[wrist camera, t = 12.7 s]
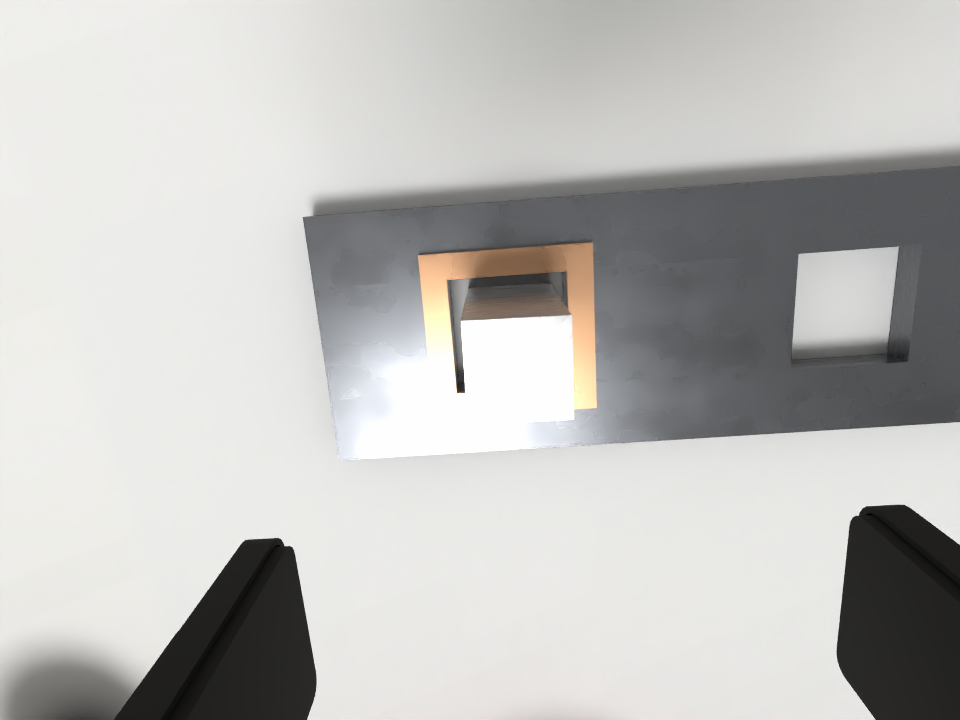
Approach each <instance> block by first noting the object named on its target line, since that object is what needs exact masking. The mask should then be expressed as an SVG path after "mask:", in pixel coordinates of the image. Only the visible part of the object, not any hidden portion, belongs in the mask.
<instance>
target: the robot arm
mask: <svg viewBox="0 0 960 720" xmlns="http://www.w3.org/2000/svg"><path fill="white" fill-rule="evenodd" d="M837 660H838V663H839V667H840V669H841V671H842V673H843V675H844V677H845V678H846V680H847V681H848V682H849V684H850V685H851V687H852V688H853V689H854V691H855V692H856V693H857V695H858V696H859V697H860V699H861V700H862V702H863V703H864V704H865V706H866V707H867V708H868V710H869V711H870V712H871V714H872V715H873V717H874V718H875V719H876V720H960V545H959V544H958V543H956V542H955V541H954V540H952V539H951V538H950V537H948V536H947V535H946V534H944V533H943V532H942V531H940V530H939V529H938V528H936V527H935V526H934V525H932V524H931V523H930V522H928V521H927V520H926V519H924V518H923V517H922V516H920V515H919V514H917V513H916V512H915V511H913V510H912V509H911V508H909V507H907V506H905V505H885V506H866V507H865V508H863V509H862V510H861V512H860V513H859V516H855V517H853V518H852V520H851V522H850V527H849V537H848V546H847V556H846V565H845V575H844V584H843V594H842V604H841V613H840V623H839V632H838V642H837ZM315 692H316V670H315V665H314V659H313V654H312V648H311V642H310V637H309V631H308V625H307V620H306V614H305V608H304V603H303V597H302V592H301V586H300V580H299V575H298V569H297V563H296V558H295V553H294V550H293V548H292V547H291V546H284V544H283V542H282V540H281V539H279V538H271V539H253V540H245V541H244V542H243V543H242V544H241V545H240V547H239V548H238V549H237V551H236V552H235V554H234V555H233V556H232V558H231V559H230V561H229V562H228V563H227V565H226V566H225V567H224V569H223V570H222V572H221V573H220V574H219V576H218V577H217V579H216V580H215V581H214V583H213V584H212V586H211V587H210V588H209V590H208V591H207V593H206V594H205V595H204V597H203V598H202V599H201V601H200V602H199V604H198V605H197V606H196V608H195V609H194V611H193V612H192V613H191V615H190V616H189V618H188V619H187V620H186V622H185V623H184V625H183V626H182V627H181V629H180V630H179V631H178V632H177V633H176V634H175V636H174V637H173V639H172V640H171V641H170V643H169V644H168V646H167V647H166V648H165V650H164V651H163V653H162V654H161V655H160V657H159V658H158V659H157V661H156V662H155V664H154V665H153V666H152V668H151V669H150V671H149V672H148V673H147V675H146V676H145V678H144V679H143V680H142V682H141V683H140V684H139V686H138V687H137V689H136V690H135V691H134V693H133V694H132V696H131V697H130V698H129V700H128V701H127V702H126V704H125V705H124V707H123V708H122V709H121V711H120V712H119V714H118V715H117V716H116V718H115V719H114V720H307V718H308V715H309V712H310V709H311V706H312V704H313V701H314V697H315Z"/></svg>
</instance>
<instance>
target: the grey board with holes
mask: <svg viewBox="0 0 960 720" xmlns="http://www.w3.org/2000/svg"><path fill="white" fill-rule="evenodd" d="M303 221H304V228H305V235H306V241H307V248H308V255H309V261H310V268H311V275H312V281H313V288H314V295H315V301H316V308H317V315H318V321H319V328H320V335H321V341H322V348H323V355H324V361H325V368H326V375H327V381H328V388H329V395H330V401H331V408H332V415H333V421H334V428H335V435H336V441H337V448H338V455H339V461H340V460H356V459H372V458H388V457H404V456H420V455H436V454H452V453H468V452H484V451H501V450H517V449H533V448H549V447H565V446H581V445H597V444H613V443H629V442H645V441H661V440H677V439H694V438H710V437H726V436H742V435H758V434H774V433H790V432H806V431H822V430H838V429H854V428H870V427H886V426H903V425H919V424H935V423H951V422H960V166H959V167H946V168H933V169H920V170H907V171H894V172H881V173H868V174H855V175H842V176H829V177H816V178H803V179H790V180H777V181H763V182H750V183H737V184H724V185H711V186H698V187H685V188H672V189H659V190H646V191H633V192H620V193H607V194H594V195H581V196H568V197H554V198H541V199H528V200H515V201H502V202H489V203H476V204H463V205H450V206H437V207H424V208H411V209H398V210H385V211H372V212H359V213H345V214H332V215H319V216H309V217H303ZM897 246H900V248H899V257H898V265H897V274H896V283H895V292H894V301H893V309H892V318H891V327H890V336H889V345H888V353H887V354H876V355H861V356H846V357H831V358H816V359H801V360H791V353H792V338H793V324H794V309H795V295H796V280H797V266H798V254H800V253H814V252H828V251H842V250H855V249H869V248H883V247H897ZM549 272H563V298H564V304H565V306H566V307H567V309H568V310H569V311H570V313H571V314H572V339H573V396H574V420H554V421H534V422H514V423H493V424H473V425H468V419H467V405H466V390H465V382H459V381H458V370H457V358H456V347H455V336H454V324H453V313H452V301H451V290H450V280H453V279H466V278H480V277H494V276H508V275H522V274H536V273H549Z"/></svg>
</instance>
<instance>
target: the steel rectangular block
mask: <svg viewBox="0 0 960 720" xmlns="http://www.w3.org/2000/svg"><path fill="white" fill-rule="evenodd" d="M461 332H462V346H463V361H464V376H465V390H466V405H467V419H468V425H473V424H493V423H514V422H534V421H554V420H574V396H573V339H572V314H571V313H570V311H569V310H568V309H567V307H566V306H565V304H564V303H563V301H562V300H561V298H560V297H559V296H558V294H557V293H556V291H555V290H554V288H553V287H552V285H551V284H550V283H544V284H526V285H509V286H491V287H473V288H468V291H467V296H466V300H465V304H464V309H463V313H462V318H461Z"/></svg>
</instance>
